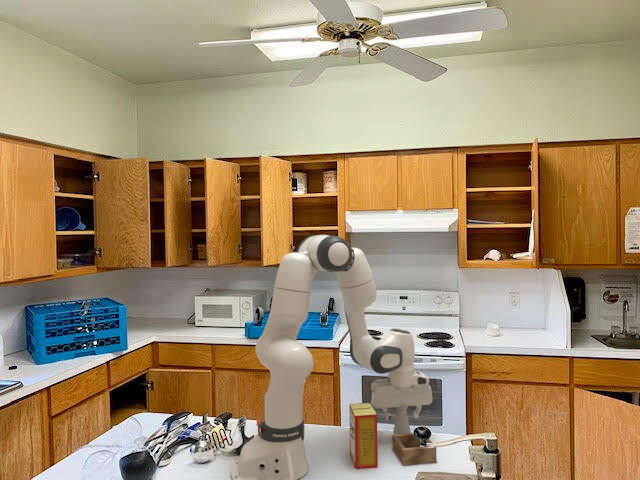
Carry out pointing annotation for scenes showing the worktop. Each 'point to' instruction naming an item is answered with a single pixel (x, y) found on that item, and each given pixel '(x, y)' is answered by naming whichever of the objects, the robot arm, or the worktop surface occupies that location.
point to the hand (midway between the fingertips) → (402, 418)
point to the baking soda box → (363, 436)
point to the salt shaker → (401, 421)
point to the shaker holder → (412, 450)
